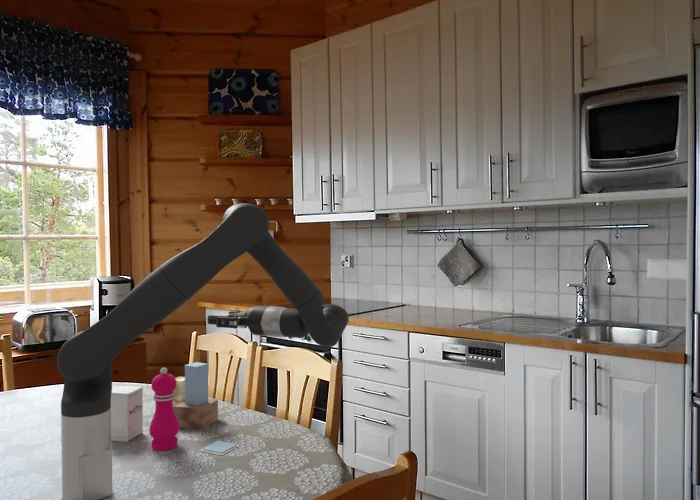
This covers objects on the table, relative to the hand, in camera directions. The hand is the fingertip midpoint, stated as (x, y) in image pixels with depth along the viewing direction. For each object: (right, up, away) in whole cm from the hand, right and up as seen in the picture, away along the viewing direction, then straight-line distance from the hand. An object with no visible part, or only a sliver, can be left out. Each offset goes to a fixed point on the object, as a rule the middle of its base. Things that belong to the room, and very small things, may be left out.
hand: (219, 317), depth 147 cm
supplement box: (-26, -32, +2) cm, 41 cm away
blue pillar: (-9, -26, +13) cm, 31 cm away
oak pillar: (-16, -32, +20) cm, 41 cm away
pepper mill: (-13, -32, -5) cm, 35 cm away
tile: (+2, -32, -7) cm, 33 cm away
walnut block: (-10, -32, +13) cm, 36 cm away
